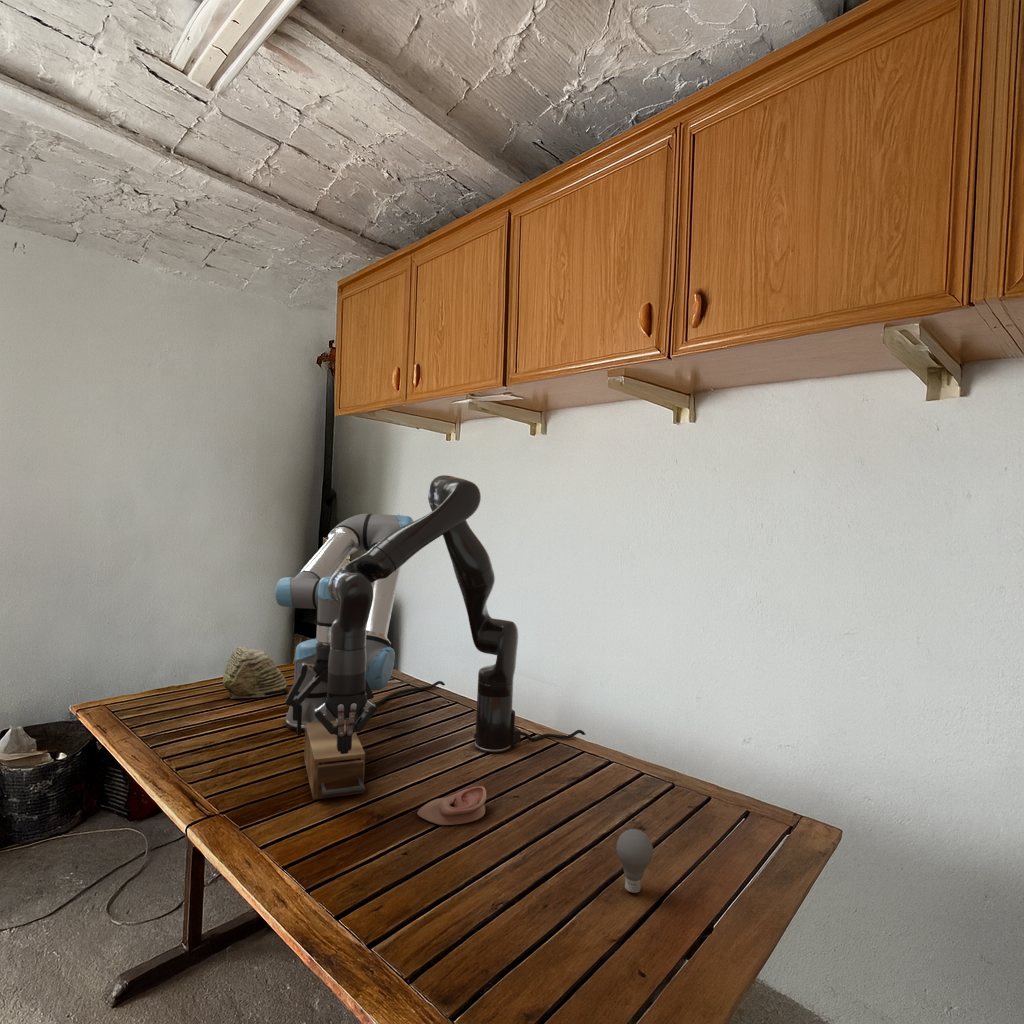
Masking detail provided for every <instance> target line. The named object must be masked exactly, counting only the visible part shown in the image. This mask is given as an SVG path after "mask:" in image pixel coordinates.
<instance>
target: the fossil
mask: <svg viewBox="0 0 1024 1024" xmlns="http://www.w3.org/2000/svg"><path fill="white" fill-rule="evenodd" d="M222 676H223V677H222V685H223V687H224V688H225V690H226V691H228V693H229V698H230V699H250V698H264V697H271V696H275V695H281V694H284V693H285V691H286V689H287V687H288V686H287V680H286V678H285V676H284V674H283V673H282V672H281V669H279V668H278V667H277V665H276V663H275V662H274V660H273V659H272V658H271V657H270V656H269V655H268V654H267V653H266V652H265V650H264V649H263V648H260V647H258V648H251V647H247V646H246V647H245V646H238V647H237V648H236V649H235V650H233V651H232V653H231V656H230V657H229V659H228V660H227V663H226V666H225V668H224V671H223V675H222Z"/></svg>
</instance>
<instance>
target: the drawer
mask: <svg viewBox="0 0 1024 1024" xmlns="http://www.w3.org/2000/svg"><path fill="white" fill-rule="evenodd" d="M363 766H364V762H363V760H358V759H350V760H341V761H333V762H324V763H319V765H318V772H317V799H316V800H321V799H320V798H322V799H328V798H327V797H329V798H335V796H337V797H343V796H342V795H344V796H350V795H349V794H351V795H357V794H356V793H358V794H363V793H362V792H366V785H365V784H364V785H363Z"/></svg>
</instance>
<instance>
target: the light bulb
mask: <svg viewBox="0 0 1024 1024" xmlns="http://www.w3.org/2000/svg"><path fill="white" fill-rule="evenodd" d="M615 849H616V854H617V857H618V859H619V861H620V863H621V865H622V867H623V873H624V874H623V875H624V876H625V878H624V888H625V890H627V891H628V892H630V893H634V894H635V893H639V892H640V891H641V889H642V887H641V886H642V879H643V877H644V875H645V871H646V868H647V867H648V866H649V864H650V863H651V861H652V859H653V855H654V847H653V843H652V841H651V838H649V836H648V835H647V834H646V833H645V832H643V831H642V830H641V829H636V828H629V829H627V830H625V831H623V832H622V833H621V834H620V835H619V837H618V839H617V841H616V847H615Z"/></svg>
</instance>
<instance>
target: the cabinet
mask: <svg viewBox="0 0 1024 1024" xmlns="http://www.w3.org/2000/svg"><path fill="white" fill-rule="evenodd" d="M330 722H331V723H332V724H333V725H334V726H337V723H336V721H330ZM345 726H346V719H344V733H345ZM303 750H304V751H303V753H304V754H303V760H304V765H305V769H306V774H307V779H308V784H309V787H310V793H311V796H312V800H318V799H317V772H318V765H319V763H324V762H333V761H341V760H350V759H358V760H363V762H364V766H363V785H365V770H366V769H365V768H366V767H365V766H366V765H365V764H366V752H365V750H364V748H363V746H362V743H361V741H360V739H359V737H358V734H357V732H355V733H353V735H352V748H351V750H348V753H347V754H340V751H339V752H338V750H337V735H335V734H330V733H329V732H328V731H327V729H326V728H325V727H324V726H323V725H322V724H321V722H318V723H307V724H305V732H304V748H303ZM364 792H365V791H364ZM364 792H362V793H361V794H364ZM351 795H352V794H349V795H348V796H351ZM355 795H359V793H356V794H355ZM344 796H345V795H342V796H341V797H344ZM335 797H336V798H337V797H338V796H335ZM335 797H334V798H335ZM328 798H329V799H330V797H327V798H326V799H328ZM321 799H323V798H320V799H319V800H321Z"/></svg>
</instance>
